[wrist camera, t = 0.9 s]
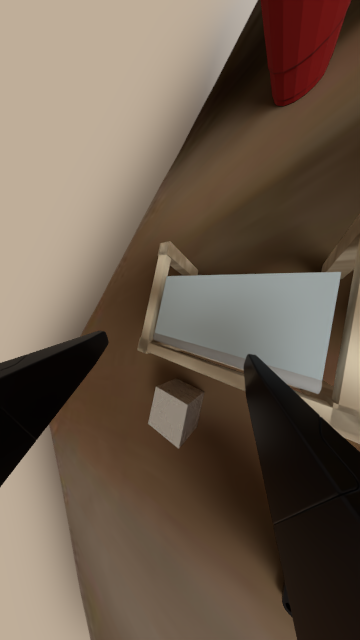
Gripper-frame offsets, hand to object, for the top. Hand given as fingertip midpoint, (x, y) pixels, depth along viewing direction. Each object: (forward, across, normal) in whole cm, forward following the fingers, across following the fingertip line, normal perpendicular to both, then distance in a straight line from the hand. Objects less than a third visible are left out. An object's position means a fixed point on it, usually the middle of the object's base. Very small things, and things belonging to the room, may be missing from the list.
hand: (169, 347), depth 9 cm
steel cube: (+4, 0, +14) cm, 15 cm away
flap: (+6, -3, 0) cm, 7 cm away
